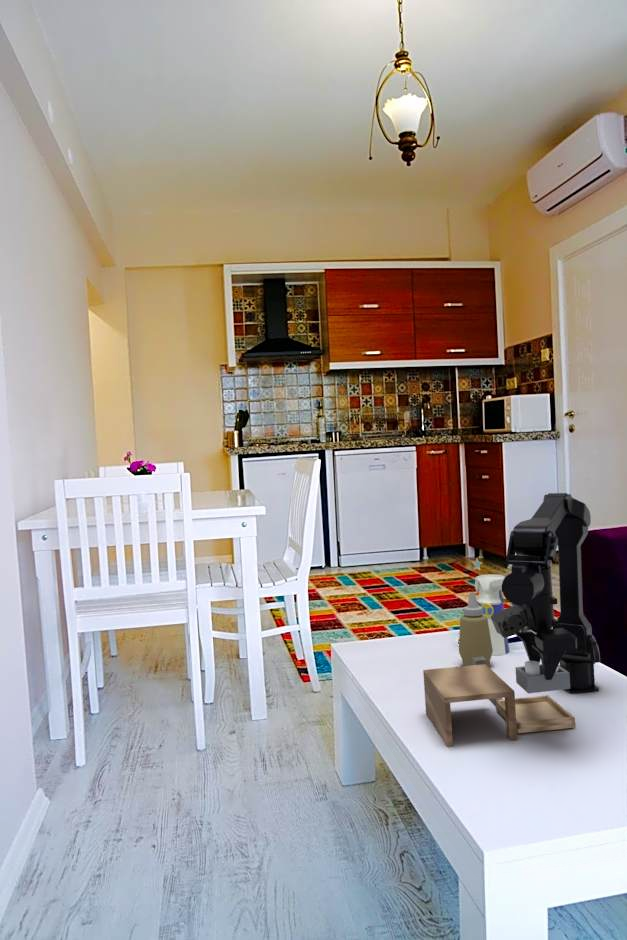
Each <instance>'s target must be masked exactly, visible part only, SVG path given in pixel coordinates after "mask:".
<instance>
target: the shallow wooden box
mask: <svg viewBox="0 0 627 940" xmlns="http://www.w3.org/2000/svg"><path fill="white" fill-rule="evenodd" d="M482 664H486V665H487V660H486V659H485V658H484V657H473V658H472V665H482ZM490 701H492V703H493V704H494V705H495V710H496V711H497V712H498V713H499V714H500V715H501V716H502V718H503V719H504V720H505V721H506V711H505V698H494V699H490ZM515 709H516V726H517V734H524V733H534V732H543V731H544V732H545V731H553V730H564V729H571V728H573V729H574V728H576V718H575V716H573V715H572V714H571V713H570V712H569V711H567V710H566V709H565V708H564V707H563V706H562V705H560V704H559V703H558V702H557V701H556V700H554V699H553V698H552V697H550V695H539V696H536V695H535V696H528V697H519V698H517V697H515Z"/></svg>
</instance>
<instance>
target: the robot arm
mask: <svg viewBox="0 0 627 940" xmlns="http://www.w3.org/2000/svg"><path fill="white" fill-rule="evenodd" d="M542 501H543V502H542V503H541V504H540V506H539V507H538V509H536V511H535V512H534V514H533V515H532V516H531V518H530V519H527V520H523V521H520V522H518V523H517V524H516V525H515V526H514V527H513V529H512V530H511V531H510V535H509V539H508V545H507V546H508V547H507V551H506V552H507V553H506V557H505V565H511V567H510V569H511V572H510V573H509V574H507V575H506V576H504V577H505V578H504V580H503V583H502V596H503V597H505V598H504V599H506V600H507V601H509V602H510V603H511V604H512V606H508V607H506V608H504V610H502V611H500V612H498V613H496V614H494V615H492V616H491V620H492V622H493V625H494V627H495V629H496V631H497V633H499V634H500V635H501V636H502V637H508V638H509V637H511V636H512V635H513V634H514V635H515V636H517V637H518V638H519V639H520V640H521V641H522V645H523V647H524V650H525V652H526V655H527V658H528V661H537V662H539V665H541V664H542V667H543V672H544V676H545V679H546V680H552V678H553V676H554V674H555V671H556V669H557V667H558V665H560V666H561V667H562V668H564V669H565V670H566V671H568V672H569V675H570V689H564V690H565V691H566V692H568V693H569V694H575V693H576V694H577V693H588V692H594V691H595V692H596V691H599V690H600V688H599V687H598V686H597V685H596V681H595V664H598V663H601V654H600V653H601V652H600V648H599V645H598V643H597V640H596V638H595V636H594V635H593V629H592V624H591V622H589V620H588V619H587V617H586V615H585V614H584V608H583V607H584V605H583V604H584V603H583V577H582V576H583V574H582V573H583V571H582V548H581V547H582V544H583V543H584V541H585V539H586V537H587V536H588V534H589V527H590V526H591V520H592V519H591V517H592V516H591V512H590V509H589V508H588V506H587V505H586V503H584V502H583V501H580V500H578V499H576V498H573V496H572V495H571V493H567V492H553V493H551V492H550V493H547V494H544V496H543V500H542ZM557 548H558V549H557ZM557 551H558V552H557ZM556 553H558V576H559V580H558V581H559V608H560V610H559V611H560V612H559V613H560V614H559V616H558V617H557V619H556V618H555V612H554V609H555V607H554V605H557V604H558V598H557V597H555V596H553V592H554V591H553V580H552V566H551V565H552V562H553V561H555V559H556ZM540 663H541V664H540Z"/></svg>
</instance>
